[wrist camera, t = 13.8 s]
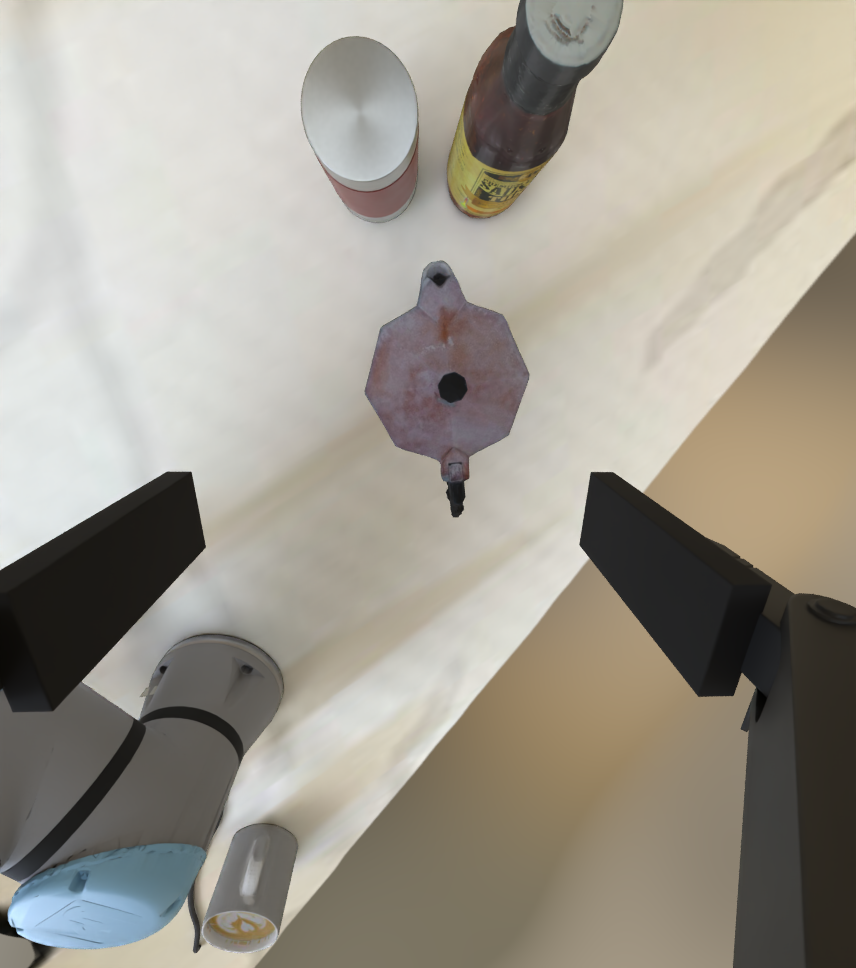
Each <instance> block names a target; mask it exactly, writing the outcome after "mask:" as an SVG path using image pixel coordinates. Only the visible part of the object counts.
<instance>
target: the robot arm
mask: <svg viewBox="0 0 856 968" xmlns="http://www.w3.org/2000/svg"><path fill="white" fill-rule="evenodd" d="M579 545H580V546H581V548H582V549H583V550H584V551H585V553H586V554H587V555H588V557H589V558H590V559H591V560H592V562H593V563H594V564H595V565H596V567H597V568H598V569H599V570H600V572H601V573H602V574H603V576H604V577H605V578H606V579H607V581H608V582H609V583H610V585H611V586H612V587H613V588H614V590H615V591H616V592H617V593H618V595H619V596H620V597H621V599H622V600H623V601H624V602H625V604H626V605H627V606H628V608H629V609H630V610H631V611H632V613H633V614H634V615H635V616H636V618H637V619H638V620H639V621H640V623H641V624H642V625H643V627H644V628H645V629H646V630H647V632H648V633H649V634H650V636H651V637H652V638H653V639H654V641H655V642H656V643H657V644H658V646H659V647H660V648H661V649H662V651H663V652H664V653H665V655H666V656H667V657H668V658H669V660H670V661H671V662H672V663H673V665H674V666H675V667H676V669H677V670H678V671H679V672H680V674H681V675H682V676H683V678H684V679H685V680H686V681H687V682H688V684H689V685H690V687H691V688H692V689H693V690H694V692H695V693H696V694H697V695H698V697H703V696H705V697H707V696H733V695H734V693H735V690H736V687H737V685H738V682H739V678H740V676H741V673H743V674H744V675H745V676H746V677H747V678H748V679H749V680H750V681H751V682H752V683H753V684H754V685H755V686H756V689H755V692H754V695H753V697H752V700H751V702H750V705H749V708H748V711H747V713H746V716H745V718H744V721H743V724H742V727H741V730H744V731H746V732H747V731H748V730H749V737H748V750H747V751H748V752H747V765H746V780H745V795H744V811H743V825H742V840H741V856H740V870H739V885H738V900H737V916H736V930H735V945H734V961H733V968H856V608H855V607H853V606H851V605H848V604H846V603H843V602H840V601H838V600H834V599H831V598H829V597H824V596H820V595H814V594H802V593H801V594H800V593H799V594H796V595H795V594H794V593H792V592H791V591H789V590H788V589H787V588H785V587H784V586H782V585H781V584H779V583H778V582H776V581H775V580H773V579H772V578H771V577H769V576H768V575H766V574H765V573H763V572H762V571H760V570H759V569H757V568H753V565H752V564H750V563H749V562H747V561H746V560H744V559H740V556H739V555H737V554H736V553H734V552H733V551H731V550H730V549H728V548H727V547H726V546H724V545H722V544H719V543H717V542H715V541H713V540H710V539H708V538H706V537H704V536H703V535H701V534H700V533H699V532H697V531H696V530H694V529H693V528H691V527H690V526H689V525H687V524H686V523H684V522H683V521H682V520H680V519H679V518H677V517H676V516H674V515H673V514H672V513H670V512H669V511H667V510H666V509H664V508H663V507H661V506H660V505H659V504H657V503H656V502H655V501H653V500H652V499H650V498H649V497H647V496H646V495H645V494H643V493H642V492H640V491H639V490H638V489H636V488H635V487H633V486H632V485H631V484H629V483H628V482H626V481H625V480H623V479H622V478H621V477H619V476H618V475H616V474H615V473H614V472H591V475H590V481H589V487H588V494H587V500H586V506H585V513H584V519H583V525H582V532H581V538H580V544H579ZM205 548H206V545H205V540H204V535H203V530H202V524H201V519H200V514H199V509H198V503H197V498H196V493H195V487H194V482H193V477H192V472H166V473H164V474H162V475H161V476H159V477H157V478H156V479H154V480H152V481H151V482H149V483H147V484H146V485H144V486H142V487H140V488H139V489H137V490H135V491H134V492H132V493H130V494H129V495H127V496H125V497H124V498H122V499H120V500H118V501H117V502H115V503H113V504H112V505H110V506H108V507H107V508H105V509H103V510H102V511H100V512H98V513H96V514H95V515H93V516H91V517H90V518H88V519H86V520H85V521H83V522H81V523H80V524H78V525H76V526H74V527H73V528H71V529H69V530H68V531H66V532H64V533H63V534H61V535H59V536H58V537H56V538H54V539H52V540H51V541H49V542H47V543H46V544H44V545H42V546H41V547H39V548H37V549H36V550H34V551H32V552H30V553H29V554H27V555H25V556H24V557H22V558H20V559H19V560H17V561H15V562H14V563H12V564H10V565H8V566H7V567H5V568H3V569H2V570H0V873H1V874H3V875H5V876H7V877H9V878H11V879H13V880H15V881H17V882H19V883H21V886H20V887H19V888H18V889H17V891H16V892H15V894H14V896H13V897H12V903H11V905H10V908H9V910H8V921H9V923H10V925H11V927H16V929H17V933H18V934H19V935H21V936H23V937H25V938H27V939H29V940H32V941H34V942H37V943H40V944H44V945H48V946H53V947H60V948H69V949H100V948H108V947H116V946H121V945H125V944H129V943H133V942H136V941H139V940H141V939H144V938H146V937H148V936H150V935H152V934H154V933H156V932H157V931H159V930H160V929H162V928H163V927H164V926H166V925H167V924H168V923H169V922H170V921H171V920H172V919H173V918H174V917H175V916H176V914H177V913H178V912H179V910H180V909H181V907H182V905H183V904H184V902H185V899H186V897H187V895H188V907H189V912H190V916H191V919H192V921H193V925H194V928H195V940H194V947H193V952H194V953H197V952H198V951H199V949H200V947H201V945H199V940H200V925H199V921H198V918H197V914H196V911H195V908H194V900H193V888H194V881H195V878H196V876H197V874H198V871H199V869H200V868H201V867H202V865H203V863H204V861H205V859H206V852H207V849H208V846H209V844H210V841H211V839H212V836H213V835H214V833H215V831H216V829H217V827H218V825H219V823H220V820H221V817H222V813H223V808H224V805H225V802H226V800H227V797H228V795H229V792H230V790H231V787H232V784H233V782H234V779H235V777H236V774H237V771H238V769H239V766H240V763H241V761H242V759H243V756H244V755H245V753H246V752H247V751H248V750H249V748H250V747H251V746H252V745H253V743H254V742H255V741H256V740H257V738H258V737H259V736H260V735H261V733H262V732H263V731H264V729H265V728H266V727H267V726H268V724H269V723H270V722H271V721H272V719H273V717H274V715H275V713H276V712H277V710H278V707H279V705H280V702H281V699H282V695H283V680H282V676H281V673H280V671H279V669H278V668H277V666H276V664H275V663H274V662H273V660H272V659H271V658H270V657H269V656H268V655H267V654H265V653H264V652H263V651H262V650H260V649H259V648H257V647H256V646H254V645H252V644H250V643H248V642H246V641H243V640H241V639H238V638H234V637H230V636H224V635H202V636H196V637H192V638H189V639H186V640H184V641H182V642H180V643H178V644H176V645H175V646H174V647H172V648H171V649H170V650H169V651H168V652H167V653H166V655H165V656H164V657H163V659H162V660H161V661H160V663H159V664H158V666H157V667H156V669H155V671H154V673H153V675H152V678H151V681H150V684H149V688H146V689H145V691H144V692H143V693H142V695H141V696H140V697H143V696H146V698H145V701H144V705H143V708H142V711H141V715H140V718H139V720H136V719H135V718H133V717H132V716H130V715H129V714H128V713H126V712H125V711H123V710H122V709H120V708H119V707H117V706H116V705H114V704H113V703H111V702H110V701H109V700H107V699H106V698H104V697H103V696H101V695H100V694H98V693H97V692H95V691H94V690H93V689H91V688H90V687H88V686H87V685H85V684H84V683H82V682H81V681H82V680H83V679H84V678H85V677H86V676H87V675H88V674H89V672H90V671H91V670H92V669H93V668H94V667H95V666H96V665H97V664H98V663H99V662H100V661H101V660H102V658H103V657H104V656H105V655H106V654H107V653H108V652H109V651H110V650H111V649H112V648H113V647H114V646H115V645H116V643H117V642H118V641H119V640H120V639H121V638H122V637H123V636H124V635H125V634H126V633H127V632H128V631H129V629H130V628H131V627H132V626H133V625H134V624H135V623H136V622H137V621H138V620H139V619H140V618H141V617H142V616H143V614H144V613H145V612H146V611H147V610H148V609H149V608H150V607H151V606H152V605H153V604H154V603H155V602H156V600H157V599H158V598H159V597H160V596H161V595H162V594H163V593H164V592H165V591H166V590H167V589H168V588H169V586H170V585H171V584H172V583H173V582H174V581H175V580H176V579H177V578H178V577H179V576H180V575H181V574H182V573H183V571H184V570H185V569H186V568H187V567H188V566H189V565H190V564H191V563H192V562H193V561H194V560H195V559H196V557H197V556H198V555H199V554H200V553H201V552H202V551H203V550H204V549H205Z"/></svg>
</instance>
